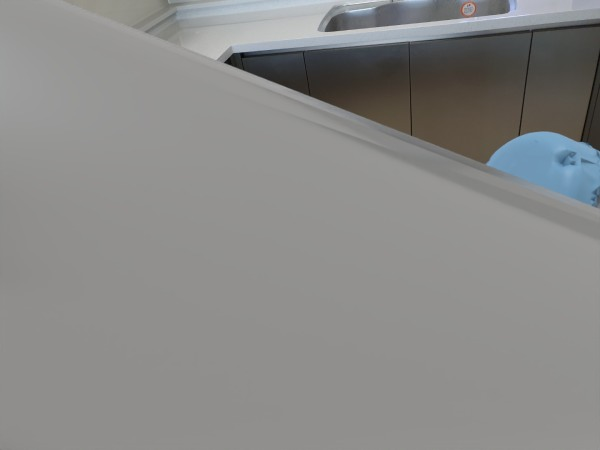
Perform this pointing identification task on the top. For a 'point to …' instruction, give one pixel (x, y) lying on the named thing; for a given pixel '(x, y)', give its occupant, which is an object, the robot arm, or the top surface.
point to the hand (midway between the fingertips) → (386, 345)
